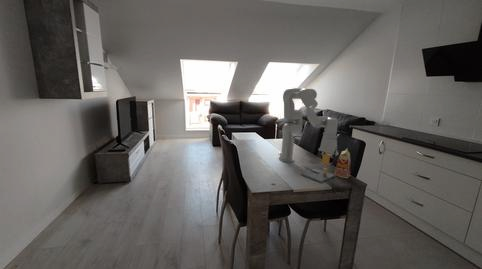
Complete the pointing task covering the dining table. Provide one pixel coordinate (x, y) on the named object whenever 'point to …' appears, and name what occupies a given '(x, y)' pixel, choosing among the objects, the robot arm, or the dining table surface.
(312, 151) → the dining table surface
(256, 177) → the dining table surface
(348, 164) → the milk carton
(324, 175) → the plate
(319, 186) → the dining table surface
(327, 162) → the amber toy cube
